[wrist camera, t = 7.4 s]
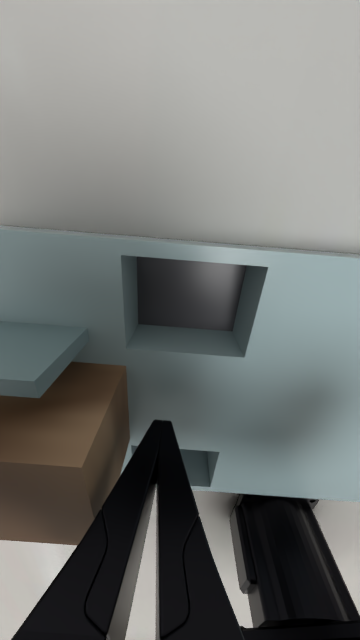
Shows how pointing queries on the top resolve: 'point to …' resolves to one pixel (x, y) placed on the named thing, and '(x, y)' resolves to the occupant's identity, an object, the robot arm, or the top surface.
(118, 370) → the walnut block
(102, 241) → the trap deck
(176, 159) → the top surface
